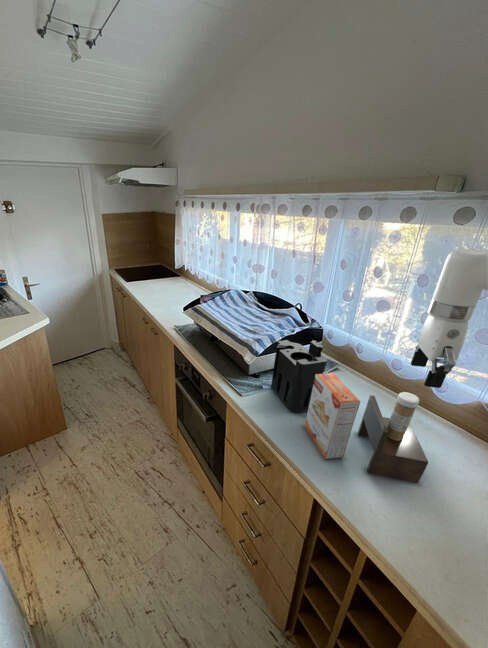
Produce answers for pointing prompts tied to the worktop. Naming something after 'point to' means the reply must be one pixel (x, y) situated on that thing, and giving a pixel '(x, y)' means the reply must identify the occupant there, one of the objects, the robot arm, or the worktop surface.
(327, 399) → the cracker box
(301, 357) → the black machined bracket
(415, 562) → the worktop surface
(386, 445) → the spice shelf
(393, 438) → the sprinkles bottle
